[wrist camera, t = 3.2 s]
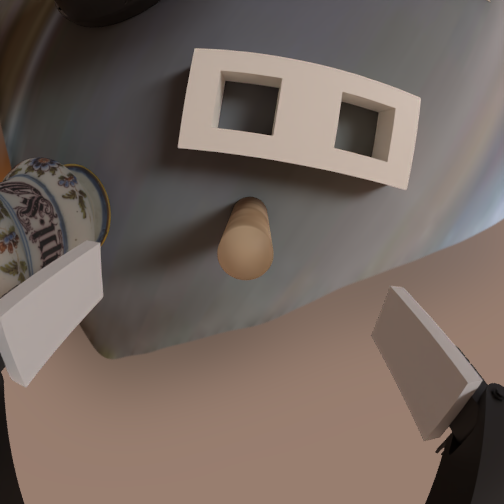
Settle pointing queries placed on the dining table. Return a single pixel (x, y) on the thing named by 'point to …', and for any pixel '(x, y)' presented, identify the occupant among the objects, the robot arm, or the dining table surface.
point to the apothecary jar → (47, 216)
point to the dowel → (246, 241)
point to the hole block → (301, 115)
